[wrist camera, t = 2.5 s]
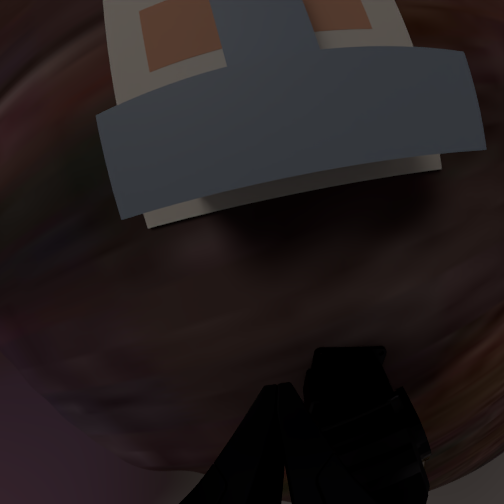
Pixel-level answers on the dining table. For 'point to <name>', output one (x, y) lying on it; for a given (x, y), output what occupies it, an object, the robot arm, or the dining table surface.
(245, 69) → the t block
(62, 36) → the dining table surface
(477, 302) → the dining table surface
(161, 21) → the t mat
